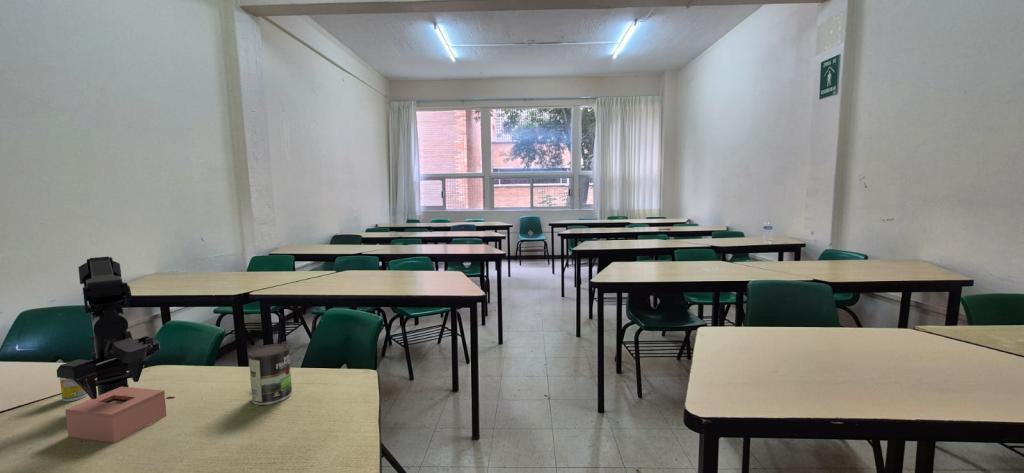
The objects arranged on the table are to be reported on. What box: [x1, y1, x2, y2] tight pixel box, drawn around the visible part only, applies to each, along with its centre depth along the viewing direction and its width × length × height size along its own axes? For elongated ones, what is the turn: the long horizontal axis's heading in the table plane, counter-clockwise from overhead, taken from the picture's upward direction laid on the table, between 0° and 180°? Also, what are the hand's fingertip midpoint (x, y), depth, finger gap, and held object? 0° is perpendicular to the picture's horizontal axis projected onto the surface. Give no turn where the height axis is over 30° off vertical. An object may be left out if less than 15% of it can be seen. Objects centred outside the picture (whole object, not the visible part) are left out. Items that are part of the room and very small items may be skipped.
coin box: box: [64, 387, 167, 443], centre depth 102 cm, size 14×12×7 cm
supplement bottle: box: [59, 378, 89, 402], centre depth 117 cm, size 5×5×10 cm
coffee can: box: [247, 343, 293, 406], centre depth 116 cm, size 10×10×14 cm
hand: (116, 389), depth 101 cm, fingers open, 9 cm apart
